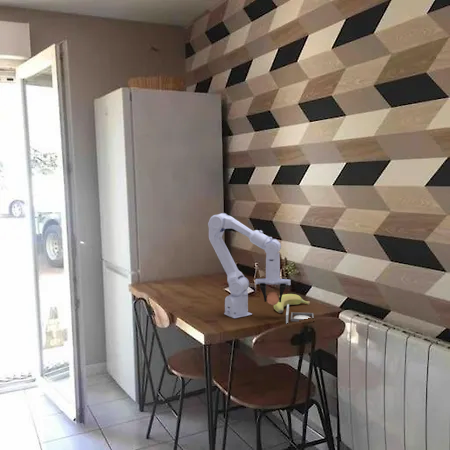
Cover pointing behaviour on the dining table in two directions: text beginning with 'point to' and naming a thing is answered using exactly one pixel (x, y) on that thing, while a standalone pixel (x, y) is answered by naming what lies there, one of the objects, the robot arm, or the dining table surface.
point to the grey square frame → (301, 316)
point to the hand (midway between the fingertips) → (272, 301)
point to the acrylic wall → (287, 313)
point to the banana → (289, 301)
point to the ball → (272, 298)
